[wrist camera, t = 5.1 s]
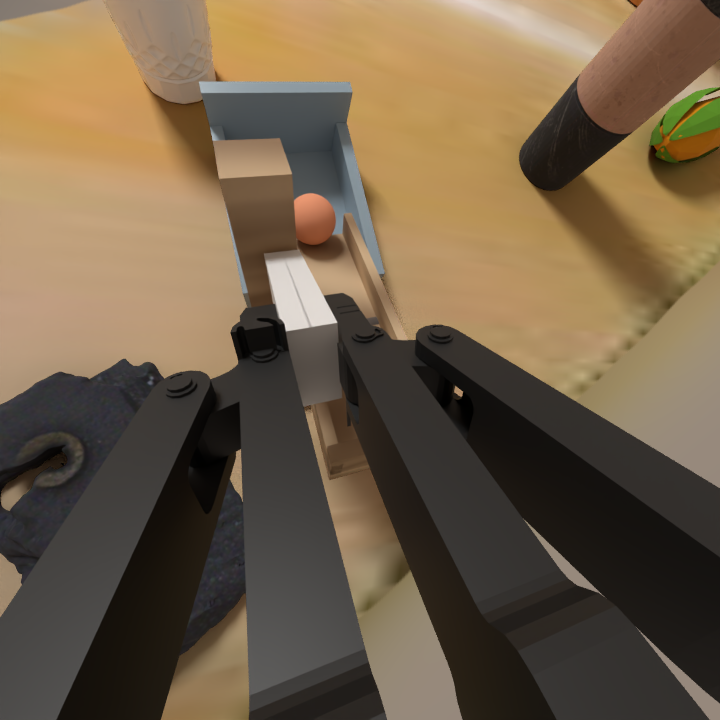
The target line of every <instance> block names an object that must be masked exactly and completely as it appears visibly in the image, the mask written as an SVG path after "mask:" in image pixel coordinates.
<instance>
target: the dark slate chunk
mask: <svg viewBox="0 0 720 720" xmlns="http://www.w3.org/2000/svg"><path fill="white" fill-rule="evenodd" d="M163 379H164V378H163V377H162V376H161V374H160V373H159V371H158V369H157V367H156V366H155V365H154V364H153V363H150V362H146V363H143V364H142V365H140V366H133V365H131V364H130V363H129V362H128V361H127V360H126V359H122V360H121V361H119V362H118V363H116V364H115V365H114V366H112V367H111V368H109V369H107V370H105V371H103V372H101V373H99V374H98V375H96V376H94V377H93V378H91V379H88V378H87V377H81V376H74V375H72V374H67V373H63V372H58V373H55V374H53V375H51V376H49V377H47V378H46V379H44V380H42V381H39V382H37V383H35V384H34V385H33V386H32V387H31V388H29V389H28V390H26V391H25V392H23V393H21V394H19V395H17V396H16V397H14V398H13V399H11V400H9V401H7V402H5V403H3V404H1V405H0V495H1V491H2V489H3V488H4V486H5V485H6V484H7V483H8V482H9V481H11V480H13V479H15V478H16V477H17V476H18V475H20V474H21V473H23V472H25V471H26V470H29V469H33V468H37V467H39V466H40V465H41V464H43V462H45V461H46V460H48V459H50V458H52V457H53V456H55V455H57V454H59V453H61V452H62V451H63V452H64V454H65V455H66V456H67V460H68V461H67V464H66V465H64V464H63V463H61V464H62V465H63V467H62V468H59V469H56V470H55V469H53V468H52V467H51V466H50V467H49V468H48V469H46V470H45V471H43V472H41V473H40V474H39V475H38V476H37V477H36V478H35V480H34V483H33V486H32V488H31V490H30V491H28V492H27V493H26V494H24V495H23V496H22V497H21V498H20V500H19V501H18V502H17V503H16V504H15V505H14V506H13V507H12V508H11V510H10V511H8V510H5V509H4V508H3V507H2V506H1V502H0V553H1V554H2V555H3V556H4V557H5V558H6V559H7V560H8V561H9V562H11V563H13V564H14V565H15V566H16V569H17V571H18V573H20V574H22V579H21V583H22V584H23V583H24V581H25V580H26V578H27V577H28V575H29V574H30V572H31V571H32V569H33V568H34V566H35V565H36V563H37V562H38V560H39V559H40V557H41V556H42V554H43V553H44V551H45V550H46V548H47V547H48V545H49V544H50V542H51V541H52V539H53V538H54V536H55V535H56V533H57V532H58V530H59V529H60V527H61V526H62V524H63V523H64V521H65V520H66V518H67V517H68V515H69V514H70V512H71V511H72V509H73V508H74V506H75V505H76V503H77V502H78V500H79V499H80V497H81V496H82V494H83V493H84V491H85V490H86V488H87V487H88V485H89V484H90V482H91V481H92V479H93V478H94V476H95V475H96V473H97V472H98V470H99V469H100V467H101V466H102V464H103V463H104V461H105V460H106V458H107V457H108V455H109V454H110V452H111V451H112V449H113V448H114V446H115V445H116V443H117V441H118V440H119V438H120V437H121V435H122V434H123V432H124V431H125V429H126V428H127V426H128V425H129V423H130V422H131V420H132V419H133V417H134V416H135V414H136V413H137V411H138V410H139V408H140V407H141V405H142V404H143V402H144V401H145V399H146V398H147V396H148V395H149V393H150V392H151V390H152V389H153V388H154V387H155V386H156V385H157V384H158V383H159V382H160V381H162V380H163ZM244 593H246V578H245V548H244V518H243V502H242V499H241V497H240V495H239V494H238V493H237V492H236V491H235V489H234V487H233V485H232V482H231V481H230V480H229V483H228V487H227V490H226V494H225V497H224V501H223V504H222V508H221V511H220V515H219V518H218V522H217V525H216V529H215V532H214V536H213V539H212V543H211V546H210V549H209V553H208V556H207V560H206V563H205V567H204V570H203V574H202V577H201V581H200V584H199V588H198V591H197V595H196V598H195V602H194V605H193V609H192V612H191V616H190V619H189V623H188V626H187V630H186V633H185V637H184V640H183V644H182V647H181V651H180V654H179V656H180V655H181V654H183V653H185V652H187V651H188V650H189V648H191V647H192V646H193V645H194V644H195V643H196V642H197V641H198V640H199V639H200V638H201V637H202V636H203V635H204V634H205V633H206V632H207V631H208V630H209V629H211V628H213V627H214V626H215V625H217V624H218V623H219V622H220V621H221V620H222V619H223V618H224V617H225V616H226V615H227V613H228V612H229V611H230V610H231V609H232V608H233V607H234V606H235V605H236V604H237V603H238V601H239V600H240V598H241V596H242V594H244Z"/></svg>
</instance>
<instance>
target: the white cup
mask: <svg viewBox="0 0 720 720" xmlns="http://www.w3.org/2000/svg"><path fill="white" fill-rule="evenodd" d="M103 1H104V4H105V6H106V8H107V10H108V12H109V14H110V16H111V18H112V20H113V22H114V24H115V26H116V28H117V30H118V32H119V33H120V35H121V38H122V40H123V42H124V44H125V46H126V48H127V50H128V52H129V53H130V55H131V57H132V58H133V60H134V62H135V65H136V67H137V69H138V71H139V73H140V75H141V77H142V79H143V81H144V82H145V83H146V85H147V86H148V87H149V89H150V90H151V91H152V92H153V93H155V94H156V95H158V96H160V97H161V98H163V99H165V100H166V101H170V102H175V103H181V104H188V103H193V102H199V101H201V100H202V99H203V98H202V95H201V90H200V85H199V82H216V76H215V70H214V64H213V56H212V42H211V33H210V26H209V21H208V10H207V5H206V0H103Z"/></svg>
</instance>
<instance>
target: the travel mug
mask: <svg viewBox="0 0 720 720" xmlns="http://www.w3.org/2000/svg"><path fill="white" fill-rule="evenodd" d="M719 59H720V0H643V1H642V2H641V4H640V5H639V6H638V7H637V8H636V9H635V11H634V12H633V13H632V14H631V15H630V16H629V18H628V19H627V20H626V21H625V22H624V23H623V25H622V26H621V27H620V28H619V29H618V30H617V32H616V33H615V34H614V35H613V36H612V37H611V38H610V40H609V41H608V42H607V43H606V44H605V45H604V47H603V48H602V49H601V50H600V51H599V52H598V54H597V55H596V56H595V57H594V58H593V59H592V61H591V62H590V63H589V64H588V65H587V66H586V68H585V69H584V70H583V71H582V72H581V74H580V75H579V76H578V77H577V78H576V80H575V81H574V82H573V83H572V85H571V86H570V87H569V88H568V89H567V91H566V92H565V93H564V94H563V96H562V97H561V98H560V99H559V101H558V102H557V103H556V104H555V106H554V107H553V108H552V109H551V111H550V112H549V113H548V114H547V115H546V117H545V118H544V119H543V120H542V122H541V123H540V124H539V125H538V127H537V128H536V129H535V130H534V132H533V133H532V134H531V135H530V137H529V138H528V139H527V140H526V142H525V143H524V144H523V146H522V148H521V150H520V154H519V161H520V165H521V168H522V171H523V172H524V174H525V176H526V177H527V178H528V179H529V180H530V181H531V182H532V183H533V184H534V185H536V186H537V187H539V188H542V189H544V190H558V189H560V188H562V187H564V186H565V185H566V184H568V183H569V182H570V181H572V180H573V179H574V178H575V177H577V176H578V175H579V174H581V173H582V172H583V171H584V170H586V169H587V168H588V167H589V166H591V165H592V164H593V163H594V162H596V161H597V160H598V159H600V158H601V157H602V156H603V155H605V154H606V153H607V152H608V151H610V150H611V149H612V148H613V147H615V146H616V145H617V144H618V143H620V142H621V141H622V140H624V139H625V138H626V137H627V136H629V135H630V134H631V133H632V132H633V131H635V130H636V129H637V128H638V127H640V126H641V125H642V124H643V123H644V122H646V121H647V120H648V119H649V118H650V117H652V116H653V115H654V114H655V113H656V112H657V111H659V110H660V109H661V108H662V107H663V106H665V105H666V104H667V103H668V102H669V101H670V100H672V99H673V98H674V97H675V96H676V95H678V94H679V93H680V92H681V91H682V90H684V89H685V88H686V87H687V86H688V85H689V84H691V83H692V82H693V81H694V80H695V79H697V78H698V77H699V76H700V75H701V74H702V73H704V72H705V71H706V70H707V69H708V68H710V67H711V66H712V65H713V64H714V63H716V62H717V61H718V60H719Z"/></svg>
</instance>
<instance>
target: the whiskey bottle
mask: <svg viewBox="0 0 720 720" xmlns="http://www.w3.org/2000/svg"><path fill="white" fill-rule="evenodd" d="M630 1H631V2H632V3H633V4H635V5H636V6H637V7H638V6H639V5H640V4H641V2H642V1H643V0H630Z"/></svg>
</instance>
